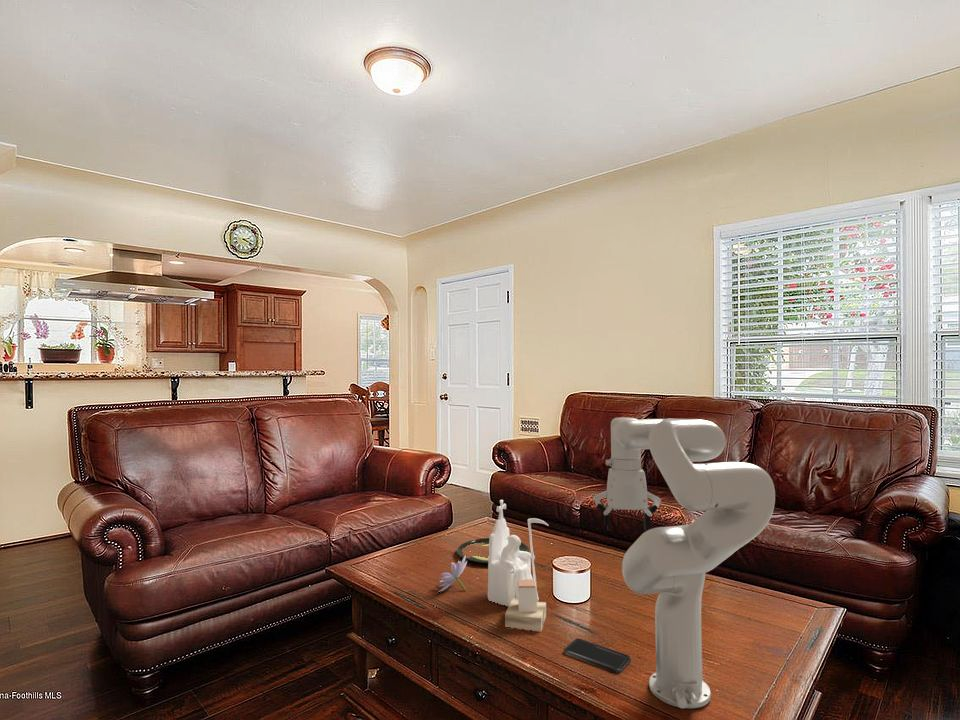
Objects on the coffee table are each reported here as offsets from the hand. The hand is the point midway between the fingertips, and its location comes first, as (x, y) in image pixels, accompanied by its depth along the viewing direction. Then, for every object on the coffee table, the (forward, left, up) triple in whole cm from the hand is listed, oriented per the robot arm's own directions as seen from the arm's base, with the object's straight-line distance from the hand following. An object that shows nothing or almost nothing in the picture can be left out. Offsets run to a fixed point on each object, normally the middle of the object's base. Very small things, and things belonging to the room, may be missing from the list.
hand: (627, 529), depth 138 cm
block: (+6, +28, -29) cm, 40 cm away
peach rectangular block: (+6, +27, -25) cm, 37 cm away
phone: (-10, +9, -29) cm, 32 cm away
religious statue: (+21, +31, -29) cm, 47 cm away
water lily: (+25, +53, -29) cm, 65 cm away
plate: (+58, +44, -29) cm, 78 cm away
